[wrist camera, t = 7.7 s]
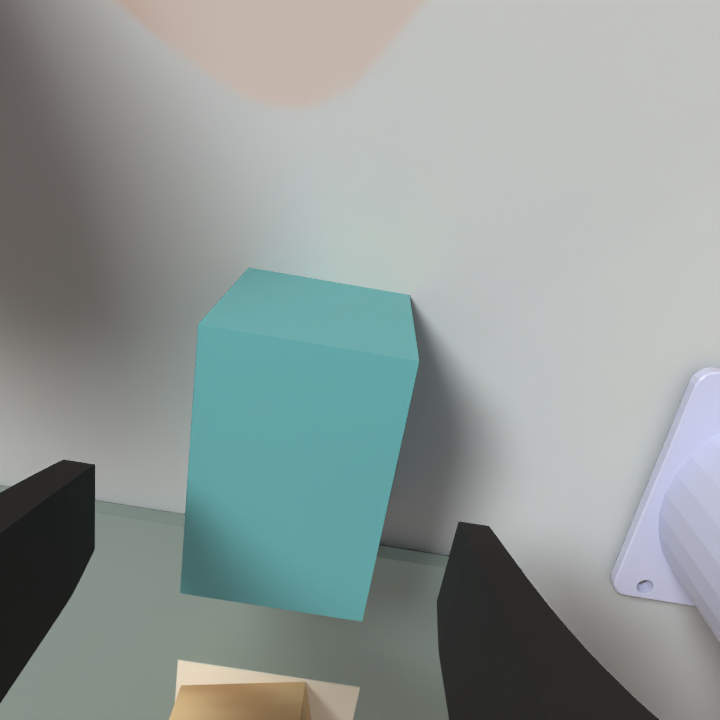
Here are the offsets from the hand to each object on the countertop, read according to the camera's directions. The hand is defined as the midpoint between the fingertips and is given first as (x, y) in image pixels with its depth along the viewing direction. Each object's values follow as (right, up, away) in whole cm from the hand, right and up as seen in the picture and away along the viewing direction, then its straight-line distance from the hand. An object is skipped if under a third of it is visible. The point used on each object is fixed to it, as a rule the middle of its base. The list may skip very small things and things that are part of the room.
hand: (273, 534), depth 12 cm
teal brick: (0, +3, +6) cm, 7 cm away
